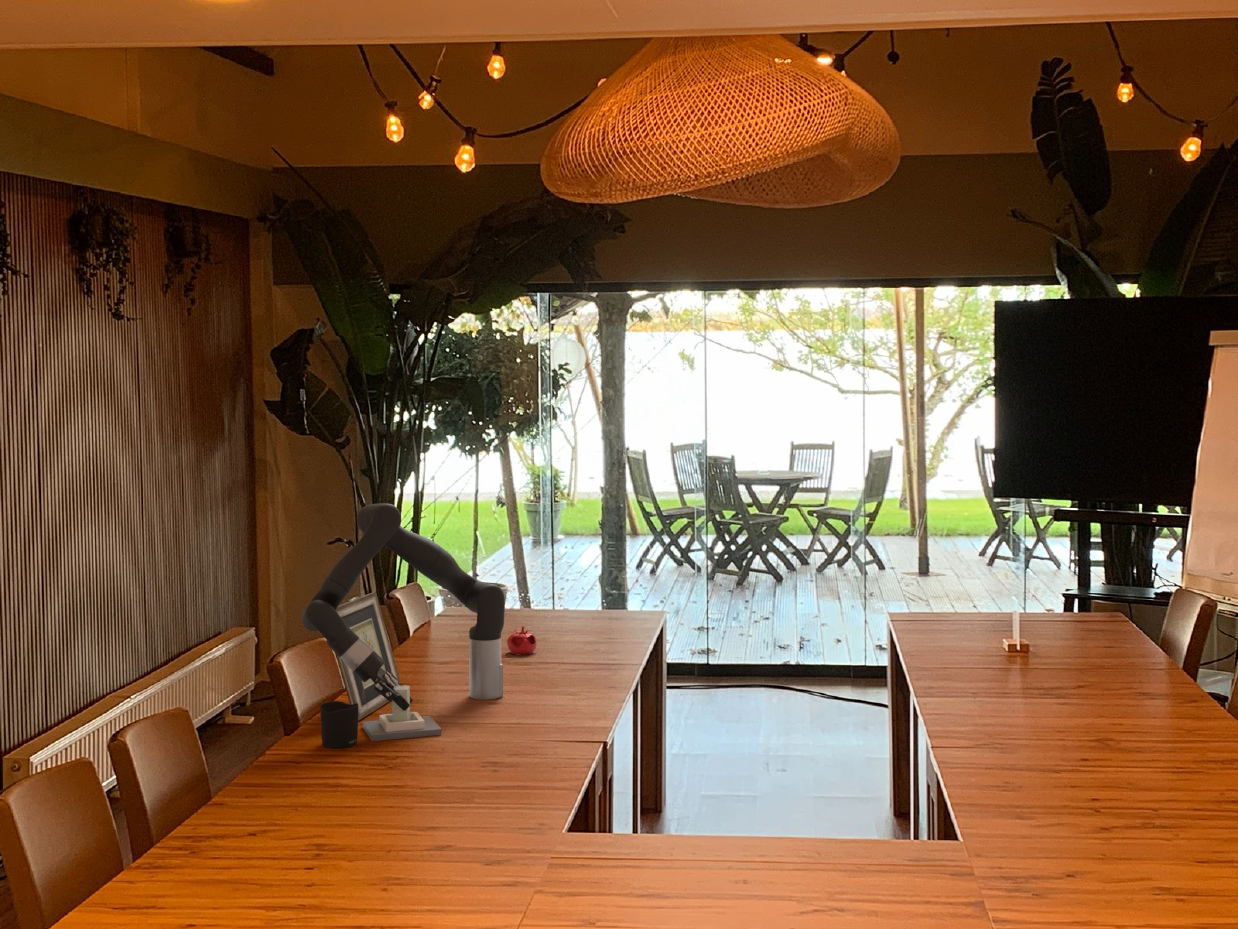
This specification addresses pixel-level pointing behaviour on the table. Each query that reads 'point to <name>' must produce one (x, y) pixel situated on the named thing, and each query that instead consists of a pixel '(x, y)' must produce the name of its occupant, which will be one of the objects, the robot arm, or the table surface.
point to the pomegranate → (521, 642)
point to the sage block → (397, 712)
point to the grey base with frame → (401, 727)
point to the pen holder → (339, 724)
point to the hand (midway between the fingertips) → (408, 705)
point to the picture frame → (371, 629)
